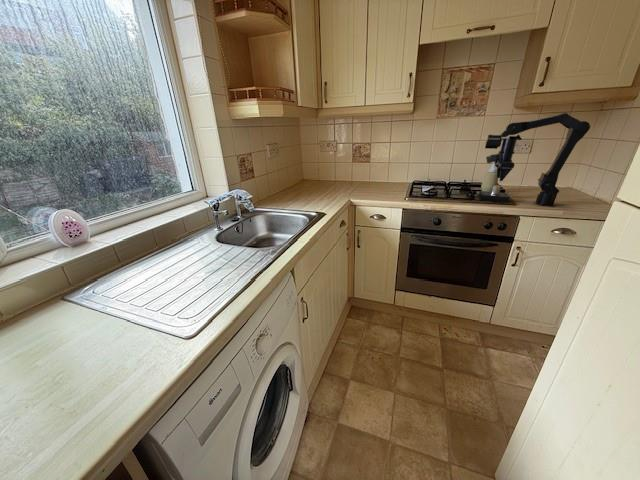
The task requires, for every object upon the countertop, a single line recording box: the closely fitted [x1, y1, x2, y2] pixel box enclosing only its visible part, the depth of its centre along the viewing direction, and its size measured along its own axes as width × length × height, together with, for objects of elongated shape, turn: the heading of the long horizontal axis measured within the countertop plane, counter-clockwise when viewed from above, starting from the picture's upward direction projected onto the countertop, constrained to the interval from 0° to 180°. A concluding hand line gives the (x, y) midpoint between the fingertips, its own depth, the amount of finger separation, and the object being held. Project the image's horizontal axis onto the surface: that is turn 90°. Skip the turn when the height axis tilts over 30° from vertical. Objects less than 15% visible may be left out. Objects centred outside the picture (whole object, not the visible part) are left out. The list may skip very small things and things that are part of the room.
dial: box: [490, 184, 502, 195], centre depth 144 cm, size 4×4×5 cm
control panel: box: [478, 190, 511, 204], centre depth 145 cm, size 13×10×3 cm
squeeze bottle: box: [480, 162, 499, 192], centre depth 155 cm, size 8×8×18 cm
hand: (499, 179), depth 141 cm, fingers open, 9 cm apart
